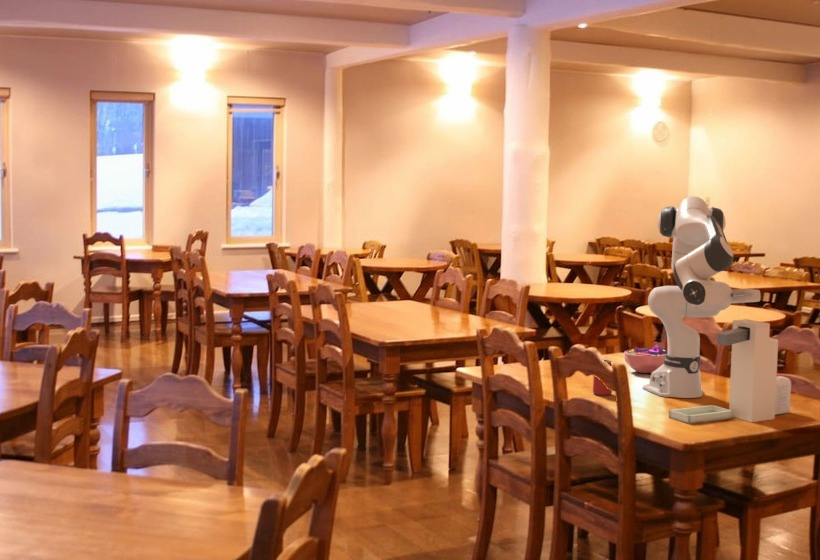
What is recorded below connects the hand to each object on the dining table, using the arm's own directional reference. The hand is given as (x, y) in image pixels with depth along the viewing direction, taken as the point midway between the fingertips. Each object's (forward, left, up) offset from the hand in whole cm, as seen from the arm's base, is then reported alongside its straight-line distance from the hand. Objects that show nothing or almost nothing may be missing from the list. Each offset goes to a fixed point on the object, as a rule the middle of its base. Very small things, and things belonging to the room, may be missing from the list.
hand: (736, 298), depth 332 cm
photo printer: (-2, +21, -40) cm, 45 cm away
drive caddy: (-1, +2, -14) cm, 14 cm away
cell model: (-76, +28, -40) cm, 90 cm away
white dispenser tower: (-1, +9, -39) cm, 41 cm away
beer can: (-50, -14, -40) cm, 65 cm away
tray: (-7, -7, -39) cm, 41 cm away
